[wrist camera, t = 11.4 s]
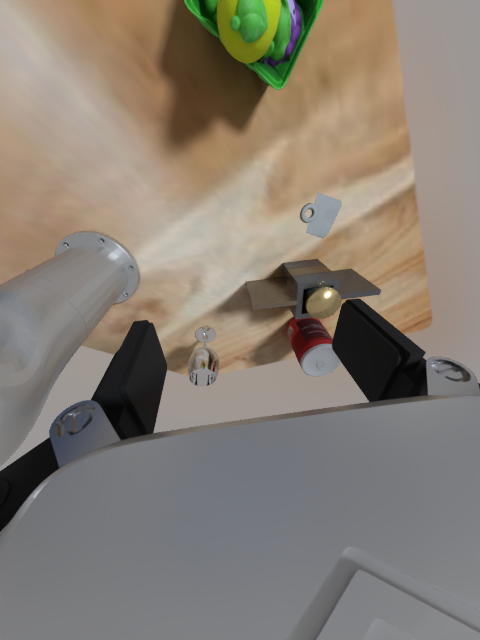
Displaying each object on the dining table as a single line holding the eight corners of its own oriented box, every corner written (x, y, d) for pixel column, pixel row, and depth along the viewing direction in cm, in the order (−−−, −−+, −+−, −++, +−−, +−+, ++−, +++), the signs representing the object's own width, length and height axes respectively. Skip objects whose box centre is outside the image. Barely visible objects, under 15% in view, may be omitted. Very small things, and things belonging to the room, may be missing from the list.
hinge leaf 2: (282, 293, 43) (295, 319, 35) (282, 263, 39) (298, 284, 32) (347, 285, 43) (374, 309, 36) (354, 254, 39) (386, 273, 32)
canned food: (295, 345, 51) (311, 382, 42) (279, 324, 47) (293, 360, 38) (324, 329, 49) (348, 364, 40) (310, 305, 45) (333, 339, 36)
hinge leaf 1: (317, 258, 39) (340, 278, 32) (313, 290, 43) (333, 314, 36) (245, 267, 39) (251, 289, 32) (247, 298, 43) (253, 324, 35)
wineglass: (214, 346, 49) (214, 390, 39) (189, 341, 48) (182, 385, 38) (222, 327, 46) (223, 369, 36) (195, 321, 45) (190, 363, 35)
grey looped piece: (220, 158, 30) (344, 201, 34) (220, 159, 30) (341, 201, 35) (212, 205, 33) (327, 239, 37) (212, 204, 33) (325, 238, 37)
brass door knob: (289, 265, 40) (309, 291, 31) (316, 262, 40) (344, 287, 31) (288, 290, 42) (305, 320, 34) (313, 287, 43) (338, 316, 34)
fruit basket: (310, 22, 24) (369, -74, 14) (266, 116, 28) (290, 89, 18) (216, -81, 20) (216, -304, 10) (182, 46, 24) (159, -33, 15)
